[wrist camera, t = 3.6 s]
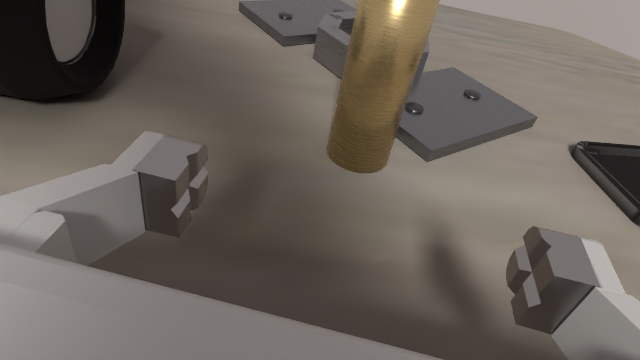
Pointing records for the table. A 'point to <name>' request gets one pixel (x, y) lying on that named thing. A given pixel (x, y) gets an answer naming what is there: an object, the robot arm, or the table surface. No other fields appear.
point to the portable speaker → (58, 45)
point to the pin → (378, 80)
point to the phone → (613, 172)
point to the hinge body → (427, 89)
